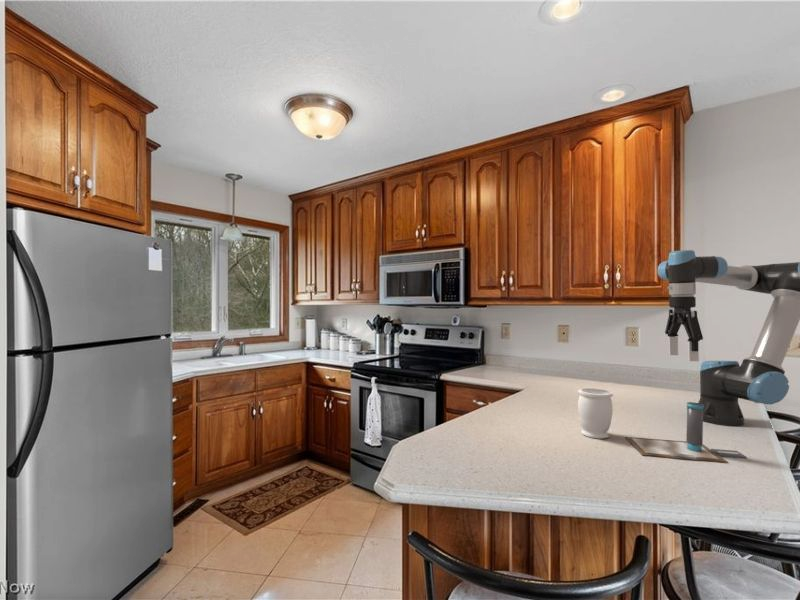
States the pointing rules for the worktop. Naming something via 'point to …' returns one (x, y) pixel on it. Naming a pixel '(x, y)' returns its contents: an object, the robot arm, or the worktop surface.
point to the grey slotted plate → (728, 453)
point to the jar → (595, 412)
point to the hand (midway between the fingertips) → (683, 358)
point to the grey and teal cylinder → (694, 426)
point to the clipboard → (672, 450)
